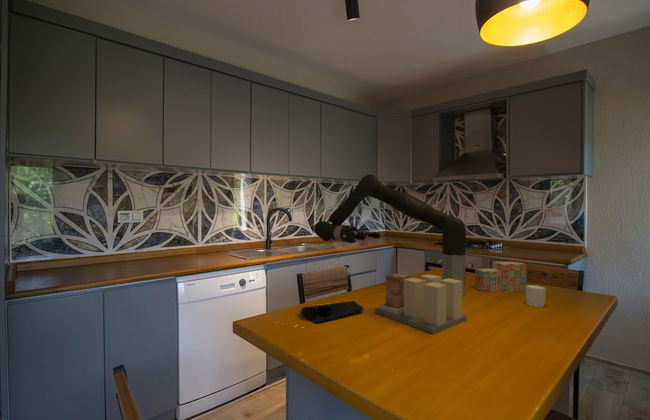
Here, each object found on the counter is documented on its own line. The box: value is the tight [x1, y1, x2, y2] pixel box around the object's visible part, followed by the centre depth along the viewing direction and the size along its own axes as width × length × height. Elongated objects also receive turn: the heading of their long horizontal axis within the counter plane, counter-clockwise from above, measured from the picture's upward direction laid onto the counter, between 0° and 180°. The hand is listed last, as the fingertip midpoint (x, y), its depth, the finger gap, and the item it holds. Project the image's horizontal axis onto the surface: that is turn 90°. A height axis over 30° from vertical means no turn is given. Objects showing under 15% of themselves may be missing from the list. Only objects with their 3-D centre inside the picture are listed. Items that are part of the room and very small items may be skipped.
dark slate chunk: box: [299, 300, 364, 324], centre depth 116 cm, size 15×22×5 cm
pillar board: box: [374, 274, 467, 335], centre depth 112 cm, size 19×24×14 cm
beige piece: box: [525, 284, 547, 308], centre depth 125 cm, size 7×7×7 cm
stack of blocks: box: [474, 261, 528, 293], centre depth 148 cm, size 21×6×12 cm, turn 97°
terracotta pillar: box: [385, 273, 407, 309], centre depth 115 cm, size 5×5×12 cm
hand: (372, 236), depth 130 cm, fingers open, 8 cm apart
